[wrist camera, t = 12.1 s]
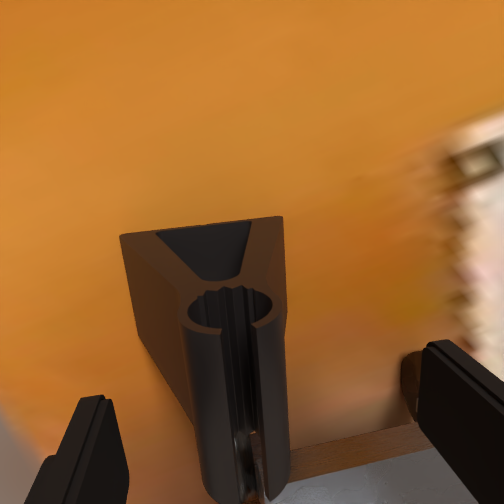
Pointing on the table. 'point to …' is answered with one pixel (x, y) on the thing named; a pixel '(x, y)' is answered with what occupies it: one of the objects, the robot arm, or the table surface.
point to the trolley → (361, 465)
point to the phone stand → (219, 337)
